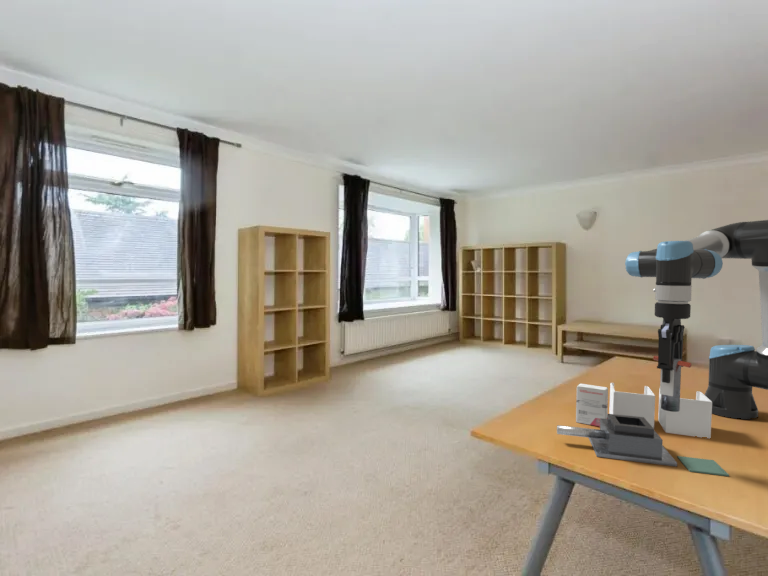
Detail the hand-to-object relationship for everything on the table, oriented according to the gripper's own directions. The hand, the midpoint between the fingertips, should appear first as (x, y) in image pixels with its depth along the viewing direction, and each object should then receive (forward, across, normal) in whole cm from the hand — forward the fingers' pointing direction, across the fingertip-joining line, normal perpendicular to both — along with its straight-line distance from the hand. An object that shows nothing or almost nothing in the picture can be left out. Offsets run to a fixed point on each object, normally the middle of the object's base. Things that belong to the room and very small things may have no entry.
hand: (669, 392), depth 108 cm
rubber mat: (+17, -1, +7) cm, 19 cm away
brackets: (+18, -24, -9) cm, 31 cm away
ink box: (+18, -11, -23) cm, 31 cm away
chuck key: (+4, 0, 0) cm, 4 cm away
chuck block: (+17, +5, -12) cm, 21 cm away
